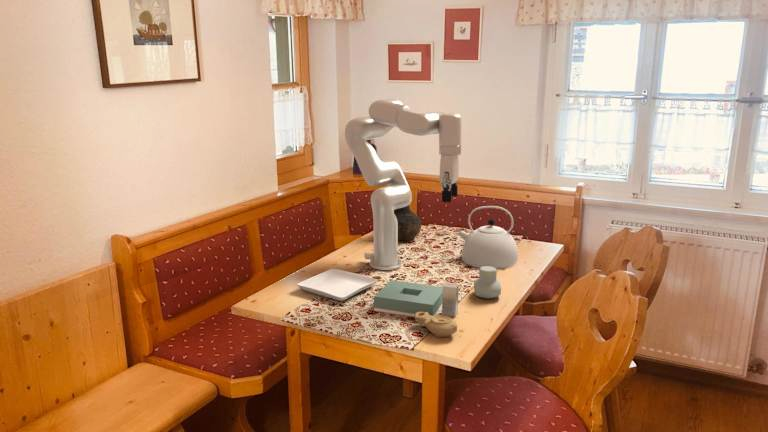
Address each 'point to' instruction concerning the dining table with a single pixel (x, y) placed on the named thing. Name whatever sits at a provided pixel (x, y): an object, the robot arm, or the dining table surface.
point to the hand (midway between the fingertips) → (449, 199)
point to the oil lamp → (437, 324)
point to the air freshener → (487, 283)
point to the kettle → (489, 245)
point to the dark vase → (407, 223)
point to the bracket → (450, 299)
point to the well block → (408, 298)
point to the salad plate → (337, 284)
